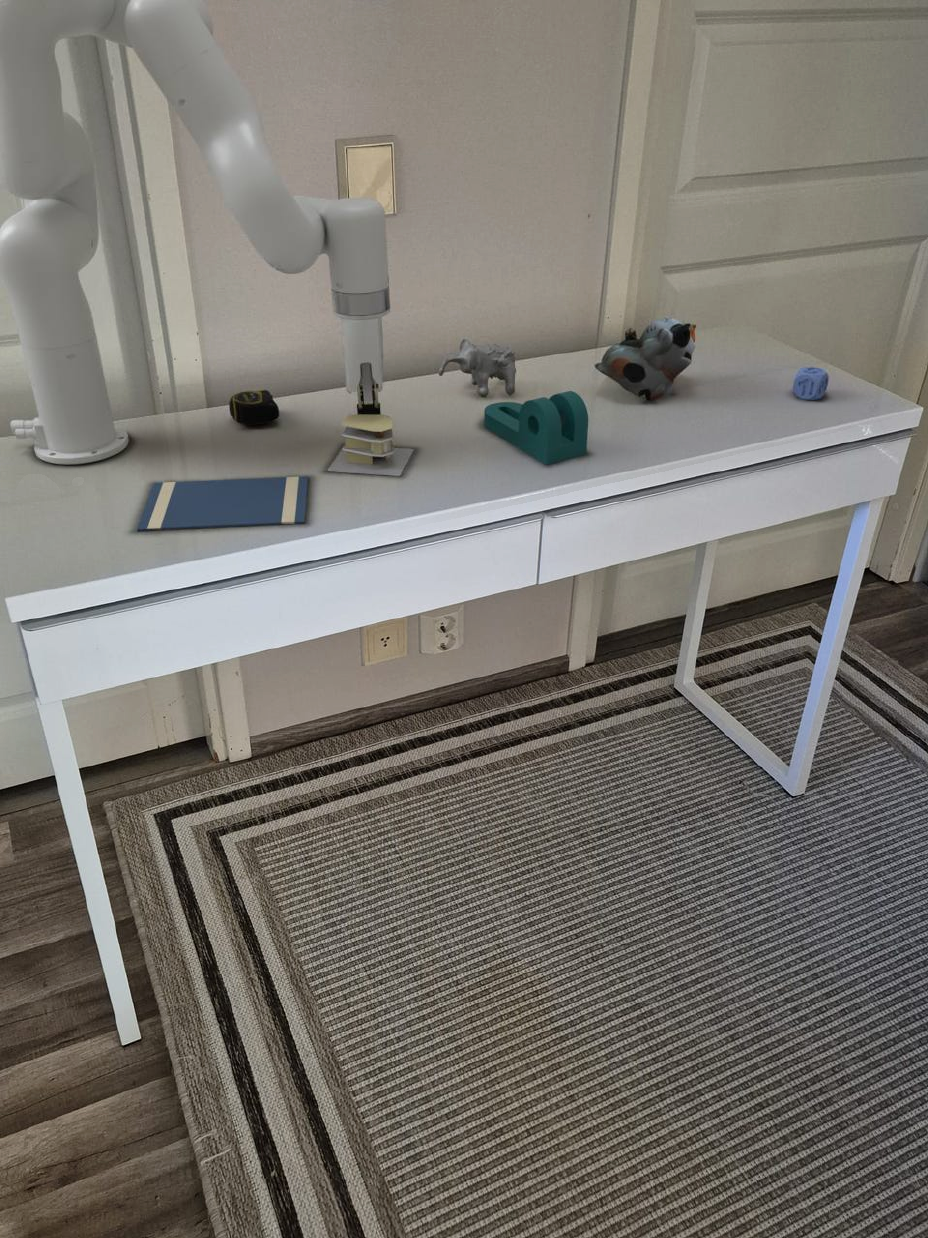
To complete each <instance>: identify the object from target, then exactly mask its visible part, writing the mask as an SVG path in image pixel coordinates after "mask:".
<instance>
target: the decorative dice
mask: <svg viewBox="0 0 928 1238" xmlns="http://www.w3.org/2000/svg"><path fill="white" fill-rule="evenodd" d="M829 380H830V379H829V374H828V373H827V371H826V370H825V369H823V368H821V367H815V366H803V367H801V368H800V369H799V370H798V371H797V372H796V374H795V377H794V379H793V383H792V391H793V394H794V395H795V396H796V398H798V399H801V400H806V401H818V400H821V399H822V398H823V396H824V395H825V394H826V391H827V389H828V387H829Z"/></svg>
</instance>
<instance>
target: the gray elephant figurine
mask: <svg viewBox="0 0 928 1238" xmlns="http://www.w3.org/2000/svg"><path fill="white" fill-rule="evenodd" d="M515 355H516V352H515V351H512V350H511V349H510V348H509V347H508V346H507V347H502V346H500V345H499V344H497V343H487V344H486V345H477V344H474V343H471V342H470V341H469V340H468V339H467V338H463V339H462V340H461V342H460V344H459V353H456V354H453V355H449V356H446V357H445V358H444V360H443V361H442V362H441V365H440V368H439V369H438V376H439V377H442V376H443V375H444V373H445V368H446V366H448V364H449V363H457V364H458V365H459V366H460V371H461V372H462V373H464V374H467V375H471V379H470V380H471V385H474V386H476V387H477V388H476V393H477V395H478V396H479V397H481V398H486V397H487V396H488V395H489V392H490V389H489V379H491V380H493V379H494V378H495V379H498V380H500V381H504V391H505V393H506V394H507V395H509V396H513V394H515V392H516V374H517V369H516V368H517V367H516V360H515V359H516V357H515Z"/></svg>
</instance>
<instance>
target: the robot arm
mask: <svg viewBox="0 0 928 1238" xmlns="http://www.w3.org/2000/svg"><path fill="white" fill-rule="evenodd" d="M89 35H90V36H92V37H97V38H100V39H103V40H106V41H109V42H112V43H115V44H117V45H121V46H124V47H127V48H131V49H133V51H134V53H135V54H136V57H137V58H138V59H139V61H140V62H141V64H142V65H143V67H144V68H145V70H146V71H147V72H148V74H149V75H150V77H151V79H152V80H153V82H154V83H155V84H156V86H157V87H158V89H159V91H160V92H161V93H162V95H163V97H165V100H166V101H167V103H169V105H170V107H171V108H172V110H173V111H174V112H175V114H176V116H177V117H178V119H179V120H180V122H181V123H182V125H183V126H184V128H185V129H186V130H187V132H188V133H189V135H190V136H191V138H192V140H193V141H194V143H195V145H196V146H197V148H198V150H199V152H200V154H201V157H202V159H203V162H204V164H205V166H206V168H207V170H208V171H209V174H210V175H211V178H212V179H213V182H214V184H215V186H216V188H217V190H218V192H219V194H220V196H221V197H222V200H223V202H224V203H225V205H226V207H227V209H228V210H229V212H230V214H231V215H232V217H233V219H234V220H235V222H236V223H237V225H238V226H239V228H240V229H241V231H242V232H243V233H244V234H245V236H246V238H247V239H248V241H249V242H250V243H251V245H252V247H253V248H254V249H255V251H256V252H257V253H258V255H259V256H260V257H261V259H263V261H264V262H265V263H266V264H267V265H269V266H270V267H271V268H273V269H274V270H276V271H277V272H280V273H282V274H287V275H297V274H301V273H303V272H305V271H307V270H309V269H310V268H311V267H312V266H314V264H315V263H316V261H317V260H318V258H319V256H321V255H326V256H327V257H328V266H329V267H328V268H329V278H330V290H331V291H330V292H331V302H332V314H333V316H335V317H336V318H338V319H341V339H342V340H341V341H342V351H343V365H344V375H345V376H344V377H345V388H346V392H347V393H348V394H350V395H352V393H356V392H357V404H356V414H368V415H382V411H381V402H379V393H380V392H381V391H382V390H383V388H384V387H383V383H384V337H383V336H384V333H383V317H385V316H387V315H389V314H391V296H390V275H389V259H388V242H387V222H386V221H387V220H386V212H385V208H384V206H383V205H382V204H381V202H379V201H378V200H376V199H373V198H369V197H346V198H340V199H330V198H320V197H315V196H308V195H307V196H306V195H293V194H292V192H291V191H290V189H289V187H288V186H287V184H286V183H285V181H284V179H283V177H282V176H281V173H280V172H279V171H278V168H277V166H276V165H275V163H274V161H273V158H272V156H271V153H270V151H269V148H268V145H267V142H266V139H265V133H264V128H263V123H262V119H261V114H260V112H259V110H258V107H257V105H256V103H255V101H254V99H253V97H252V96H251V95H250V93H249V92H248V90H247V88H246V87H245V85H244V84H243V82H242V80H241V79H240V77H239V76H238V74H237V73H236V71H235V70H234V68H233V67H232V65H231V63H230V62H229V60H228V59H227V57H226V56H225V54H224V53H223V50H222V49H221V48H220V46H219V44H218V42H217V41H216V40H215V38H214V23H213V18H212V15H211V11H210V9H209V8H208V6H207V4H206V3H205V1H204V0H0V184H1V186H2V187H3V188H4V189H5V190H6V191H7V192H9V193H10V194H11V195H13V196H14V197H17V198H19V199H22V200H23V205H24V208H23V209H21V210H20V211H18V212H16V213H14V214H13V215H11V216H10V217H8V218H7V219H6V220H5V221H4V222H3V224H2V225H1V226H0V282H1V284H2V286H3V289H4V291H5V294H6V296H7V300H8V303H9V306H10V308H11V312H12V315H13V319H14V322H15V325H16V326H15V327H16V329H17V330H16V331H17V334H18V339H19V342H20V344H21V345H20V346H21V348H22V353H23V357H24V362H25V365H26V369H27V374H28V377H29V382H30V386H31V390H32V394H33V399H34V402H35V407H36V411H37V417H34V418H33V419H31V420H29V419H28V420H27V419H13V420H11V421H10V426H9V427H10V432H11V433H12V435H14V436H15V438H16V439H17V440H27V439H33V440H35V442H34V444H33V450H34V454H35V456H36V457H37V458H38V459H39V460H42V461H44V462H46V463H50V464H55V465H83V464H89V463H94V462H98V461H103V460H105V459H108V458H111V457H113V456H115V455H118V454H119V453H120V452H122V451H123V450H125V448H127V447H128V444H129V442H130V439H129V435H128V432H127V431H126V430H125V429H124V428H123V427H121V426H119V425H116V424H115V422H114V417H113V411H112V408H111V402H110V397H109V392H108V386H107V382H106V378H105V373H104V367H103V362H102V357H101V352H100V348H99V342H98V338H97V333H96V329H95V324H94V319H93V315H92V311H91V307H90V304H89V301H88V298H87V296H86V293H85V291H84V289H83V286H82V283H81V279H80V276H79V275H80V274H79V272H80V271H81V270H83V268H85V267H86V266H87V265H88V264H89V263H90V262H91V261H92V259H93V258H94V256H95V254H96V252H97V249H98V245H99V235H100V234H99V230H100V229H99V214H98V213H99V212H98V200H97V188H96V186H97V185H96V173H95V160H94V153H93V148H92V145H91V142H90V139H89V136H88V135H87V133H86V131H85V129H84V128H83V126H82V125H81V124H80V122H79V121H78V120H77V119H76V118H75V117H73V116H72V114H70V113H69V112H67V111H65V110H64V109H63V98H62V81H61V74H60V70H59V66H58V62H57V57H56V53H55V52H56V45H57V44H58V42H59V41H62V40H63V39H69V38H74V37H83V36H89Z"/></svg>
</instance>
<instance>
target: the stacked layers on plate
mask: <svg viewBox="0 0 928 1238" xmlns="http://www.w3.org/2000/svg"><path fill="white" fill-rule="evenodd" d="M341 426H342V427H345V429H344V430H343V432H342V433H341V436H342V437H344V438H345V444H344V445H343V446H342V447H341V449H340V451H339V452H338V454H337V455H336V457H335V458H334V460H333V461H332V463H331V464H330V466H329V467H328V469H327V470H326V471H327V472H335V473H349V474H350V473H351V474H365V475H380V476H381V475H382V476H393V477H394V476H395V477H401V475H402V473H403V472H404V470H405V467H406V466H407V463H408V462H409V460H410V458H411V456H412V454H413V452H414V450H415V449H414V448H401V447H394V442H393V439H394V433H393V432H394V431H393V419H392V417H391V416H390V415H388V414H381V415H368V414H357V413H355V414H353V413H352V414H348V415H346V417H345V419H344V420H343V422H342V423H341Z"/></svg>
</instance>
